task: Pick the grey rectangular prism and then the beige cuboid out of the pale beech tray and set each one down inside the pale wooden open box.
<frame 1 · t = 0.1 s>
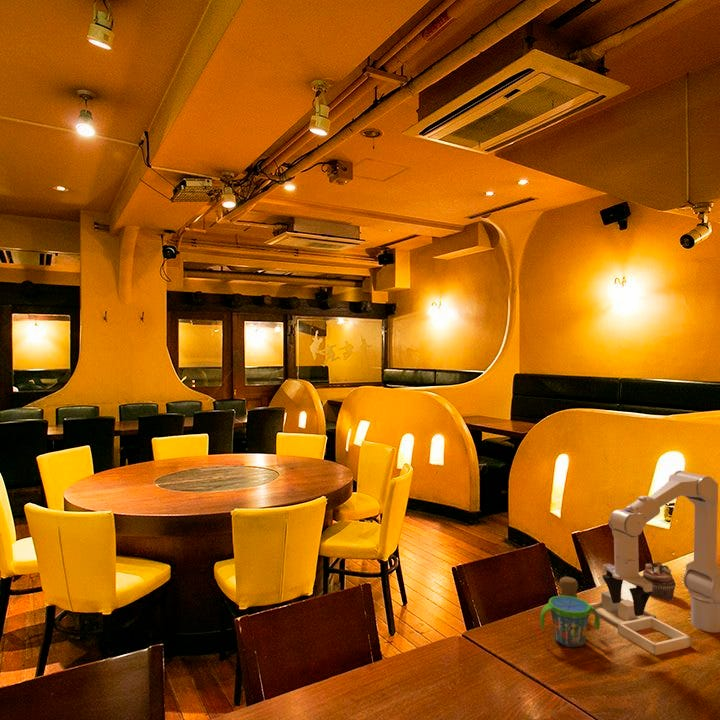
hand: (627, 608, 139), 10 cm above the table, tool pointing down, fingers open, 7 cm apart
beech tray: (619, 617, 156), on the table
beige cuboid: (628, 618, 153), point 1 cm above the table, touching beech tray
cupcake: (658, 596, 170), on the table
cork: (569, 616, 157), on the table
grey rectangular prism: (611, 609, 159), point 1 cm above the table, touching beech tray
snack cup: (569, 642, 143), on the table
pale wooden open box: (653, 643, 141), on the table
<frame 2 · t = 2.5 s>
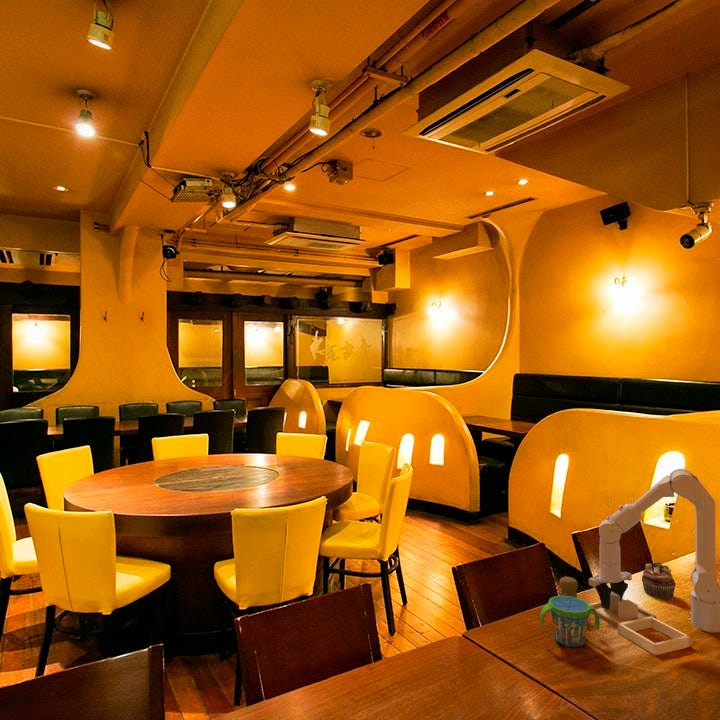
hand: (610, 606, 159), 2 cm above the table, tool pointing down, fingers closed on grey rectangular prism, 4 cm apart
grey rectangular prism: (611, 609, 159), point 1 cm above the table, touching beech tray, gripper
everything else where it was.
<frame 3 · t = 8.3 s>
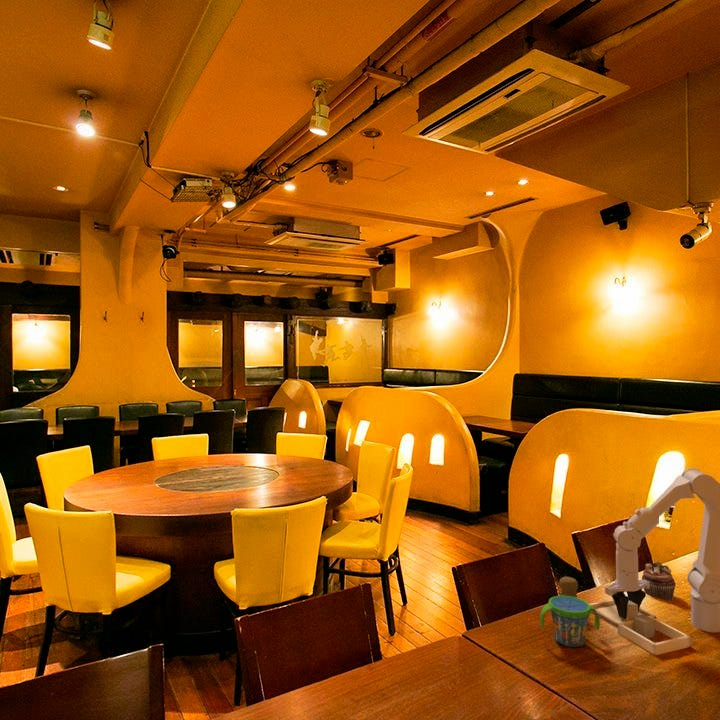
hand: (628, 616, 153), 2 cm above the table, tool pointing down, fingers closed on beige cuboid, 4 cm apart
beige cuboid: (628, 618, 153), point 1 cm above the table, touching beech tray, gripper
grey rectangular prism: (644, 635, 144), point 1 cm above the table, touching pale wooden open box
everything else where it was.
when the fingers open (3 cm above the table, at t = 11.3 s): beige cuboid drops 1 cm, resting on pale wooden open box.
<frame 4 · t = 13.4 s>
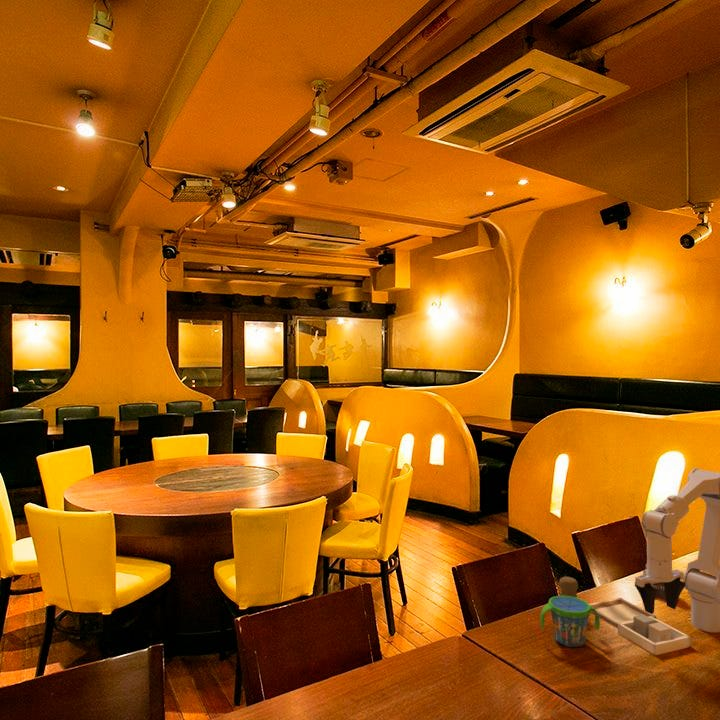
hand: (660, 609, 139), 10 cm above the table, tool pointing down, fingers open, 7 cm apart
beige cuboid: (659, 643, 139), point 1 cm above the table, touching pale wooden open box
everything else where it was.
at the end: grey rectangular prism inside the target area on the pale wooden open box (2.9 cm from its centre), point 0.8 cm above the pale wooden open box's base; beige cuboid inside the target area on the pale wooden open box (1.9 cm from its centre), point 0.8 cm above the pale wooden open box's base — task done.
